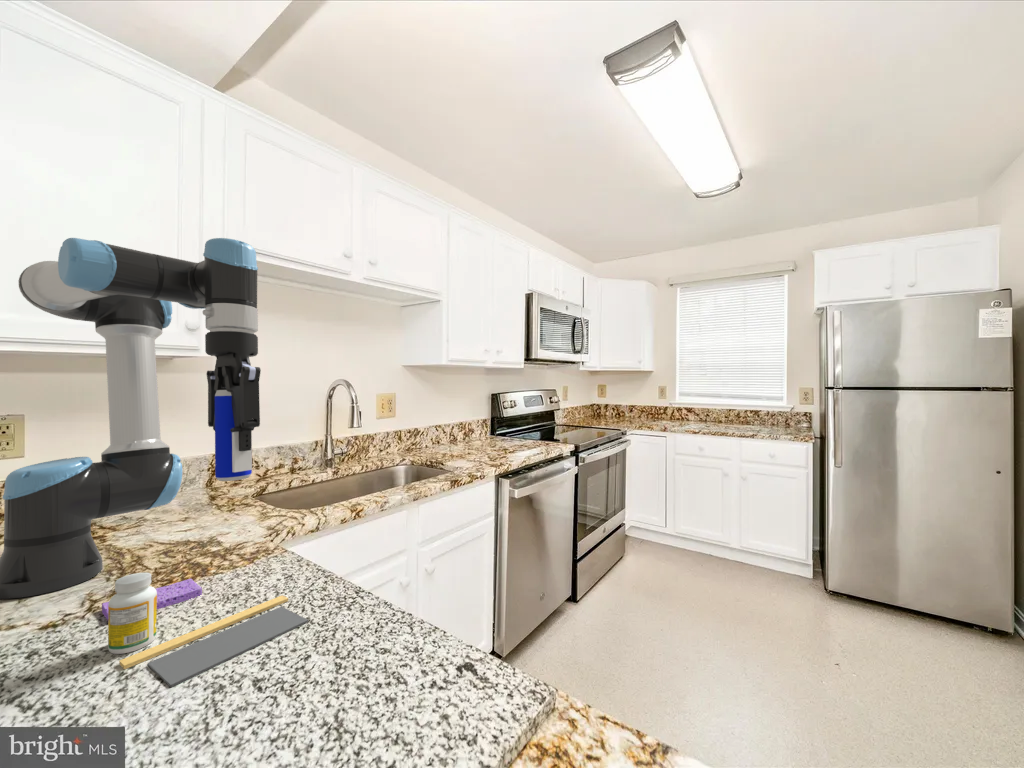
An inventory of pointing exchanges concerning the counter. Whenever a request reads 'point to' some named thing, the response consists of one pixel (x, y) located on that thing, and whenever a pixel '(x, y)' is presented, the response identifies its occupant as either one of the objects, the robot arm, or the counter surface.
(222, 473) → the beverage can
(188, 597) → the sponges
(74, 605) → the counter surface
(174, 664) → the mat
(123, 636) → the supplement bottle
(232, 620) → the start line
